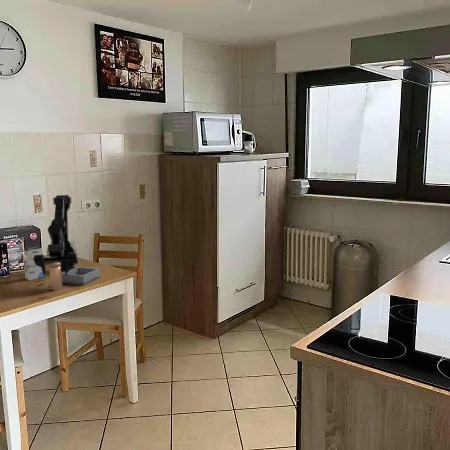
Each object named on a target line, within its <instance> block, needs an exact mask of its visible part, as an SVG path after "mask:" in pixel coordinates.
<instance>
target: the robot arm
mask: <svg viewBox="0 0 450 450" xmlns="http://www.w3.org/2000/svg"><path fill="white" fill-rule="evenodd" d="M52 201H53V205H55V208H54V216H53V217H54V218H53V219H52V220H50V221H51V222H50V225H49V226H48V228H47V232H48V236H49V239H50V244H47V248H48V255H49V256H44V255H45V254H44V255H35V256H34V259H33V260H34V262H35V264H36V266H39V267H41V268H42V272H43V275H44V277H43V278H45V274H46V266H47V265H46V263H48V262H57V261H59V262H61V272H63V271H64V272H65V275H67V273H68V271H69V270H71V269H74V268H76V264H78V263H79V257H78V254H77V252H76V253H75V248H74V247H73V245H72V244H71V243H72V242H71V241H70V240H69V222H68V220H69V216H68V212H69V210H70V209H71V204H72V197H71V196H69V194H63V195H62V194H59V195H58V194H57V195H56V196H55V197H53V199H52ZM70 242H71V243H70Z"/></svg>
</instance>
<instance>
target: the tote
mask: <svg viewBox="0 0 450 450" xmlns="http://www.w3.org/2000/svg"><path fill="white" fill-rule="evenodd" d="M61 275H62V284H69V285H76V286H77V285H79V286H80V285H81V286H85V285H87V284H89V283H92V282H95V281H96V280H98V279H100V278H101V271H100V268H95V267H85V266H75V268H74V269H71V270H69V271H68V273H67V275H65V271H64V272H63V273H62V272H61Z"/></svg>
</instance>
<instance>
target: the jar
mask: <svg viewBox="0 0 450 450" xmlns="http://www.w3.org/2000/svg"><path fill="white" fill-rule="evenodd" d="M48 272H49V283H50V290H51V291H61V290H63V283H62V275H61V274H62V270H61V262H57V261H50V262H48Z"/></svg>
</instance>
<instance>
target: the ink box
mask: <svg viewBox="0 0 450 450" xmlns="http://www.w3.org/2000/svg"><path fill="white" fill-rule="evenodd" d="M35 255H45V254H44V249H43V247H41V248H36V249H31V250H26V254H25V255H22V260H23V269H24V278H25V280H28V281H32V280H37V279H41V278H45V277H46V273H45V277H44V275H43V272H42V268H41V267H39V266H36V264H35V262H34V260H33V259H34V256H35Z"/></svg>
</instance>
